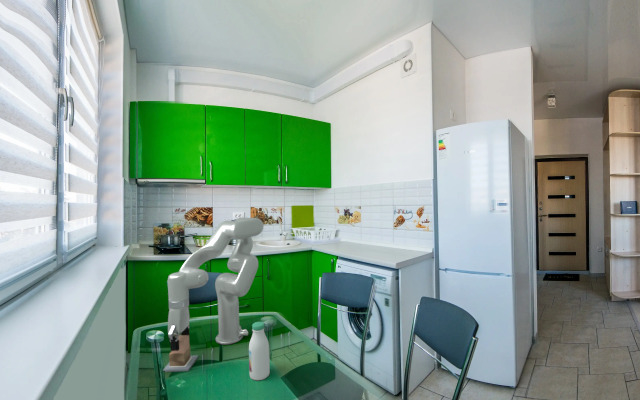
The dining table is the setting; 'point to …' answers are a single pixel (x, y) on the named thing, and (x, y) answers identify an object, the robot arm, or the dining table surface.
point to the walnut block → (179, 358)
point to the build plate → (181, 368)
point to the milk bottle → (258, 353)
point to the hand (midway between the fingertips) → (180, 344)
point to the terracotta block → (182, 344)
